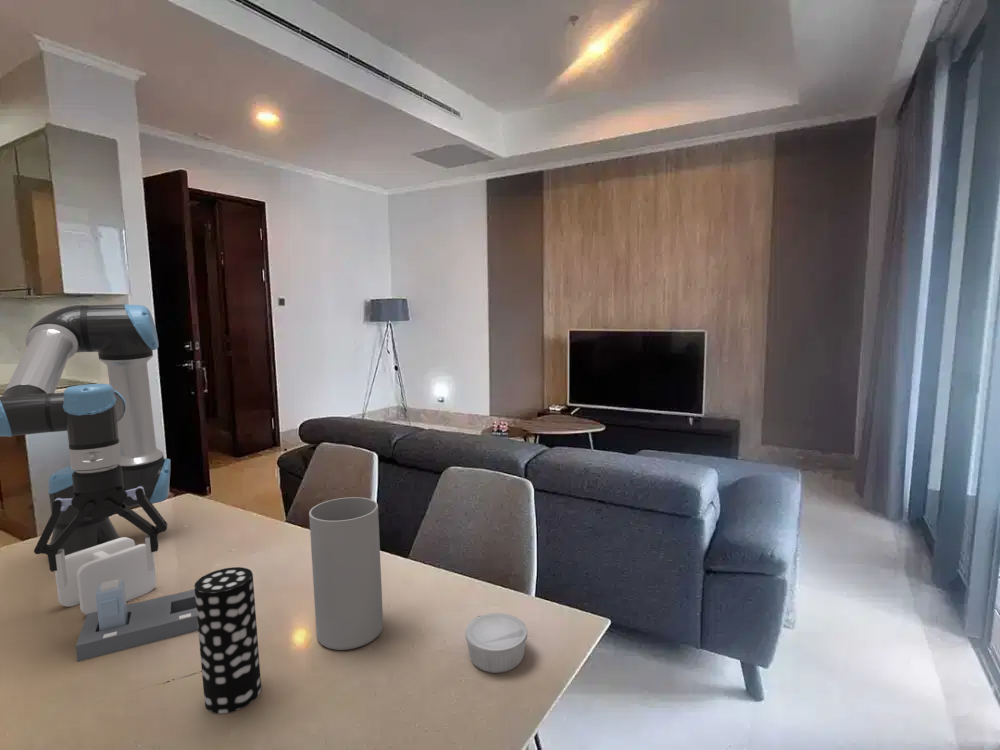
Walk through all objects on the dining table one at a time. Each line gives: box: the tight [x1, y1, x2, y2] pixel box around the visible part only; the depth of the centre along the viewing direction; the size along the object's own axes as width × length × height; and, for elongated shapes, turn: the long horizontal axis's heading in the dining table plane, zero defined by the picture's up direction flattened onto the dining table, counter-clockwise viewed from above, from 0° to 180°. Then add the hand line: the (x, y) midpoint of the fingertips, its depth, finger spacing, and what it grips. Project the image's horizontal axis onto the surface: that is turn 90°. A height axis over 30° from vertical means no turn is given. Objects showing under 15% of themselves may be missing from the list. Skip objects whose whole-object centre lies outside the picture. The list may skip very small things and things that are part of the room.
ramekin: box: [464, 612, 528, 674], centre depth 98 cm, size 11×11×5 cm
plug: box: [96, 579, 129, 631], centre depth 105 cm, size 5×4×11 cm
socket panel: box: [75, 588, 198, 663], centre depth 109 cm, size 12×22×4 cm, turn 119°
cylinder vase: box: [308, 496, 384, 651], centre depth 105 cm, size 12×12×25 cm
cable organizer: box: [54, 536, 158, 616], centre depth 119 cm, size 15×11×12 cm
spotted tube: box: [193, 566, 262, 714], centre depth 89 cm, size 8×8×20 cm
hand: (108, 577), depth 104 cm, fingers open, 13 cm apart
